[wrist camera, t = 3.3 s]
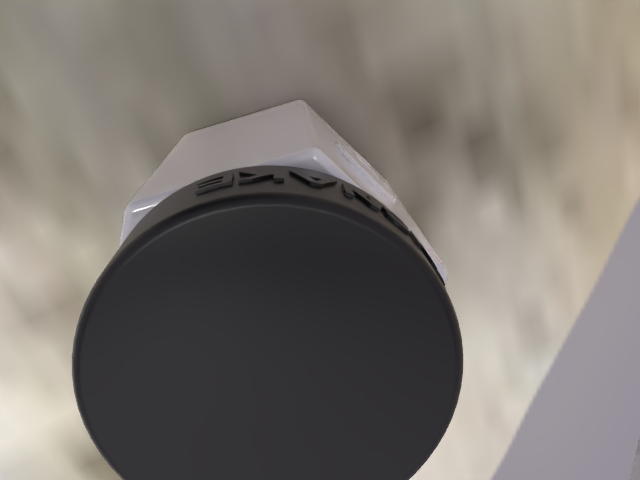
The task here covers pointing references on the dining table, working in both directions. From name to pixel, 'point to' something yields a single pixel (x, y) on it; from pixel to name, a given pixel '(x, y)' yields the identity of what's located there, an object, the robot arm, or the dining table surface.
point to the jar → (268, 316)
